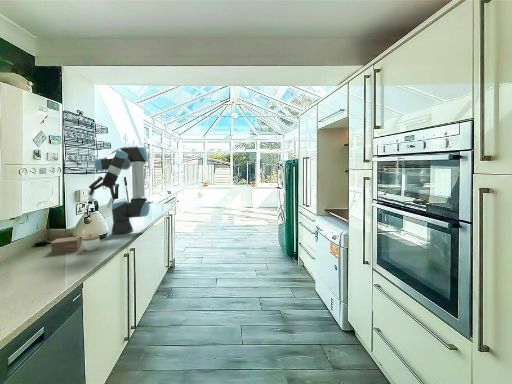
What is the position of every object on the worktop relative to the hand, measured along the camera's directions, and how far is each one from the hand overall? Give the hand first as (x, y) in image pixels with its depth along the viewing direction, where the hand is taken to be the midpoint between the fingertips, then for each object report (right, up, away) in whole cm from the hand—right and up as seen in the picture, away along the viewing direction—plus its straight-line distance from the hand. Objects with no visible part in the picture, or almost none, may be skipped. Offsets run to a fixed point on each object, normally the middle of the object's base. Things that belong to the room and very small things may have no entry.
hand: (98, 204), depth 250 cm
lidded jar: (-1, -28, -8) cm, 29 cm away
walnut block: (-17, -29, -6) cm, 34 cm away
